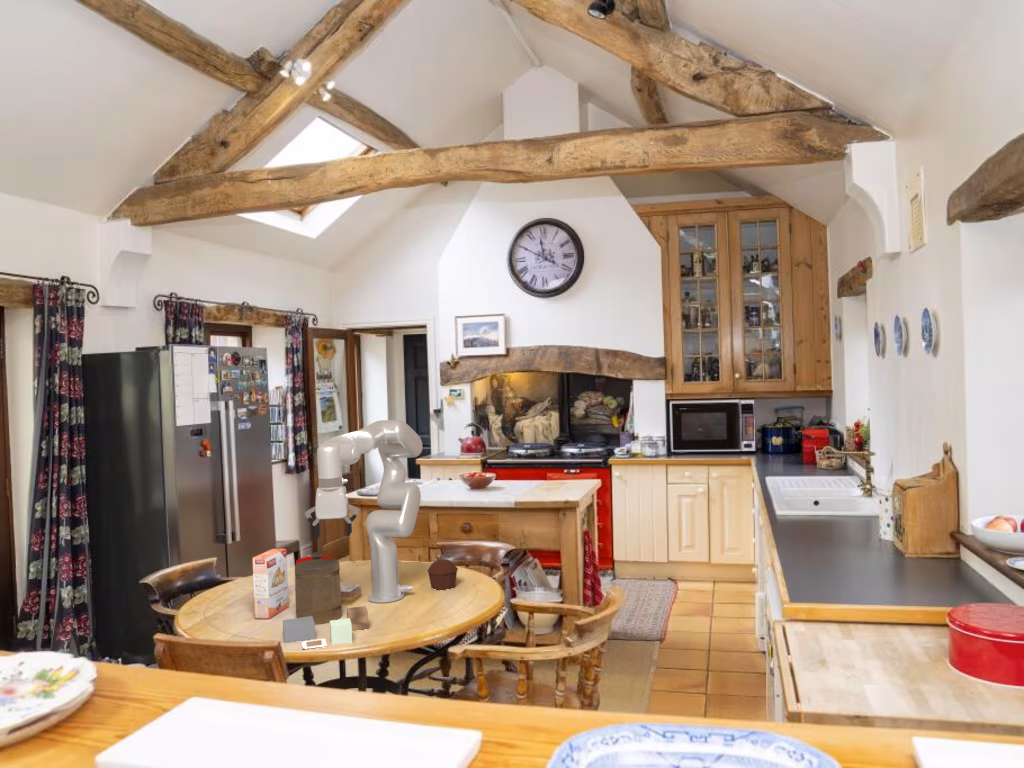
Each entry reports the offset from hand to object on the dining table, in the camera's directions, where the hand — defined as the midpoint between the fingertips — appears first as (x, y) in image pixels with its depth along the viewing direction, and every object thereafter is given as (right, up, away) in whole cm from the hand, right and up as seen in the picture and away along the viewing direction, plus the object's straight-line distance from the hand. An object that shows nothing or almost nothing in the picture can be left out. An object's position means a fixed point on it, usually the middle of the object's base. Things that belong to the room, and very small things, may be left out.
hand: (333, 536), depth 253 cm
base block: (-8, -30, -9) cm, 32 cm away
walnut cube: (+8, -29, -3) cm, 30 cm away
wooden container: (-7, -29, +10) cm, 32 cm away
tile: (-2, -29, -17) cm, 34 cm away
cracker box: (-25, -30, +18) cm, 43 cm away
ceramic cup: (-18, -29, +55) cm, 65 cm away
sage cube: (+6, -29, -15) cm, 33 cm away
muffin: (+32, -27, +41) cm, 58 cm away
